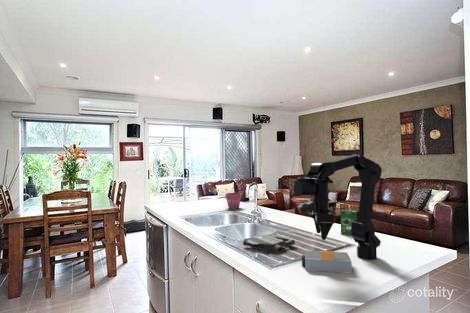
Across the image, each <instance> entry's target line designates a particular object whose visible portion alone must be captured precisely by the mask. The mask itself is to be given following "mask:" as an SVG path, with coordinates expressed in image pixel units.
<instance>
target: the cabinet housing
mask: <svg viewBox="0 0 470 313" xmlns="http://www.w3.org/2000/svg"><path fill="white" fill-rule="evenodd" d="M320 251H321V250H304V254H301V266H302V267H303V266H305V258H316V259H320ZM335 260H350V261H351V262H352V259H351V258H350V256H349V254H348V252H346V251H345V252H344V251H343V252H342V251H335Z"/></svg>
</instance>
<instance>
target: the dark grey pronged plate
mask: <svg viewBox="0 0 470 313" xmlns="http://www.w3.org/2000/svg"><path fill="white" fill-rule="evenodd" d="M295 244H296V242H295V239H293V238H290V237H285V236H282V235H273V236H271V235H267V234H265V233H264V234H261V235H257V234H256V235H253V236H251V238H250V239H248V238H244V239H243V242H242V245H243V246H245V247H246V246H247V247H250V248H253V249H255V248H256V249H259V250H262V251H263V252H267V253H275V254H276V253H277V254H281V253H283V251H285V250H287V248H288V247H291V246H293V245H295Z"/></svg>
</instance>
